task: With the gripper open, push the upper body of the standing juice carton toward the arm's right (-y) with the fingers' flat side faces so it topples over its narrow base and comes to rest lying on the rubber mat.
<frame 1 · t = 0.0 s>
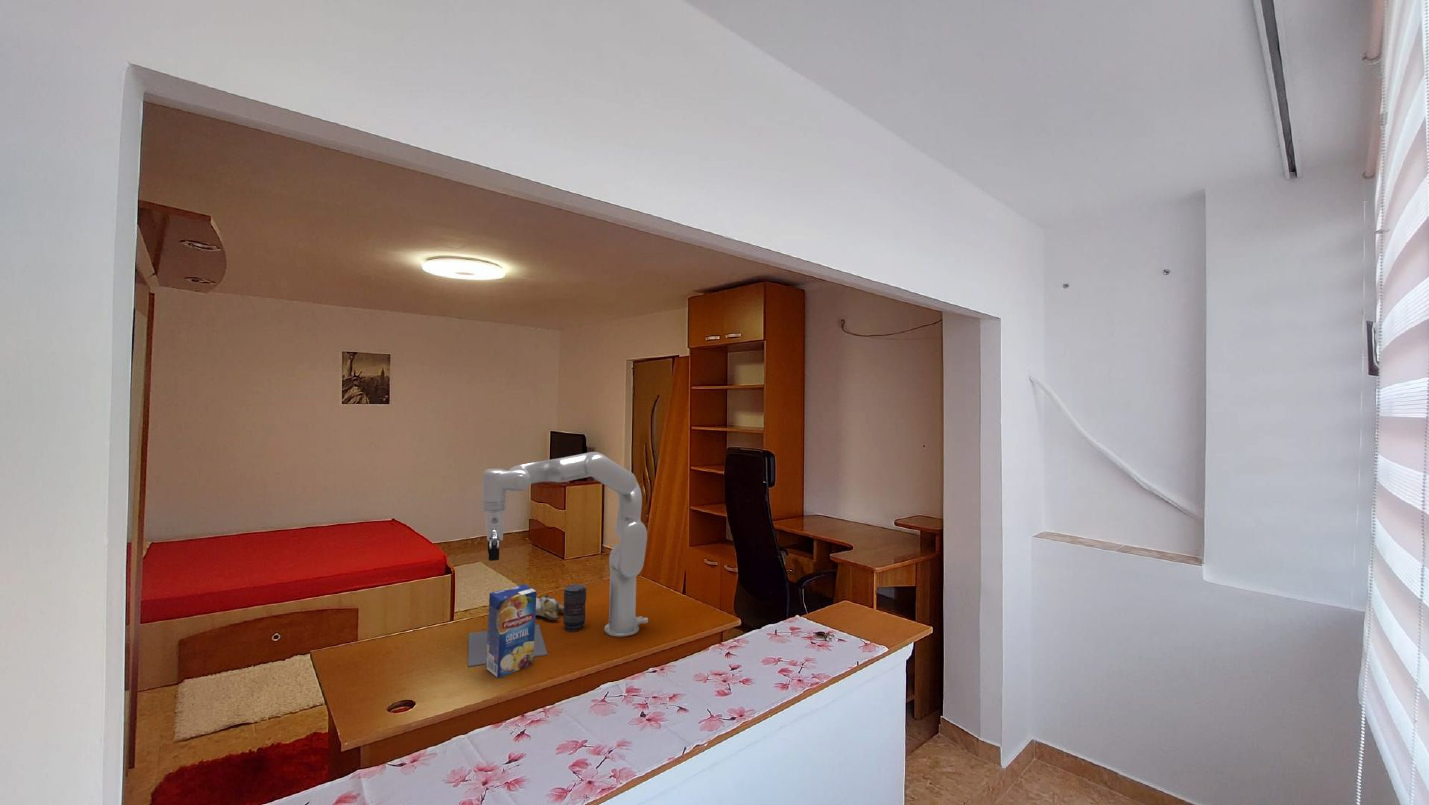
hand: (493, 556, 190), 31 cm above the table, fingers open, 9 cm apart
mat: (506, 644, 194), on the table
camera lens: (574, 628, 209), on the table
ceramic sculpture: (547, 617, 219), on the table
juice carton: (509, 667, 178), on the table, touching mat
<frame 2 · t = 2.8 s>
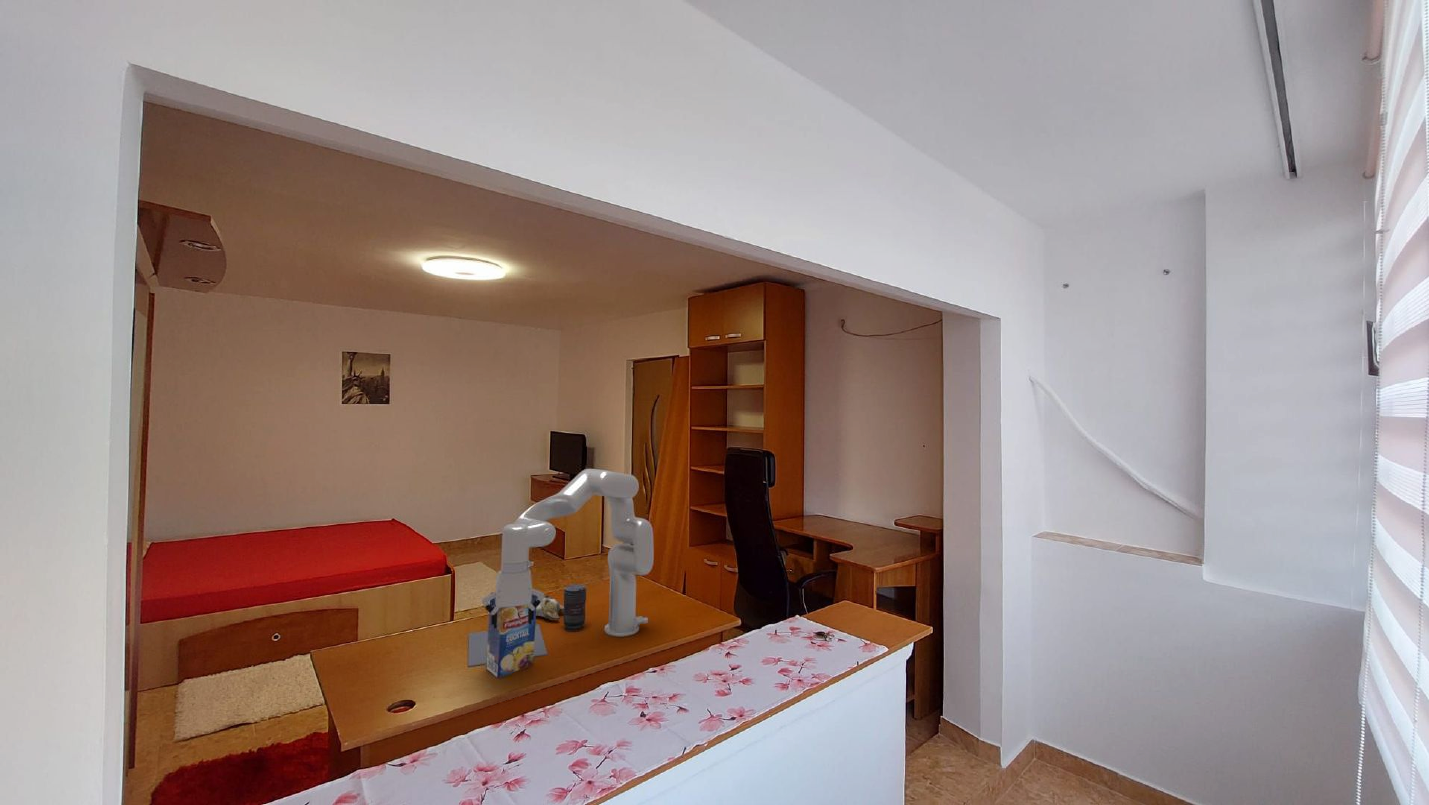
hand: (512, 624, 166), 18 cm above the table, fingers open, 9 cm apart
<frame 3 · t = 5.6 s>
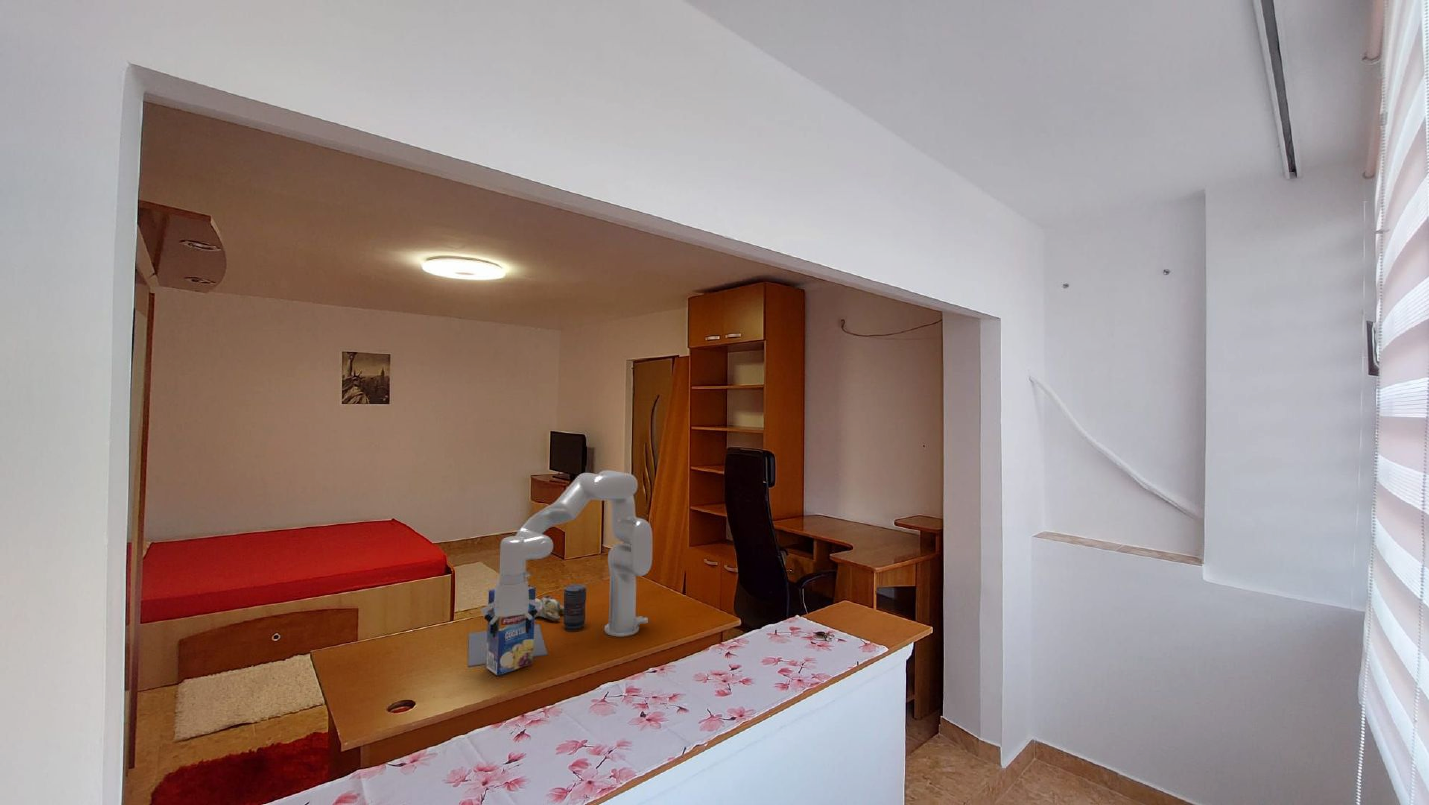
hand: (510, 633, 173), 13 cm above the table, fingers open, 9 cm apart
juice carton: (509, 666, 178), on the table, touching gripper, mat
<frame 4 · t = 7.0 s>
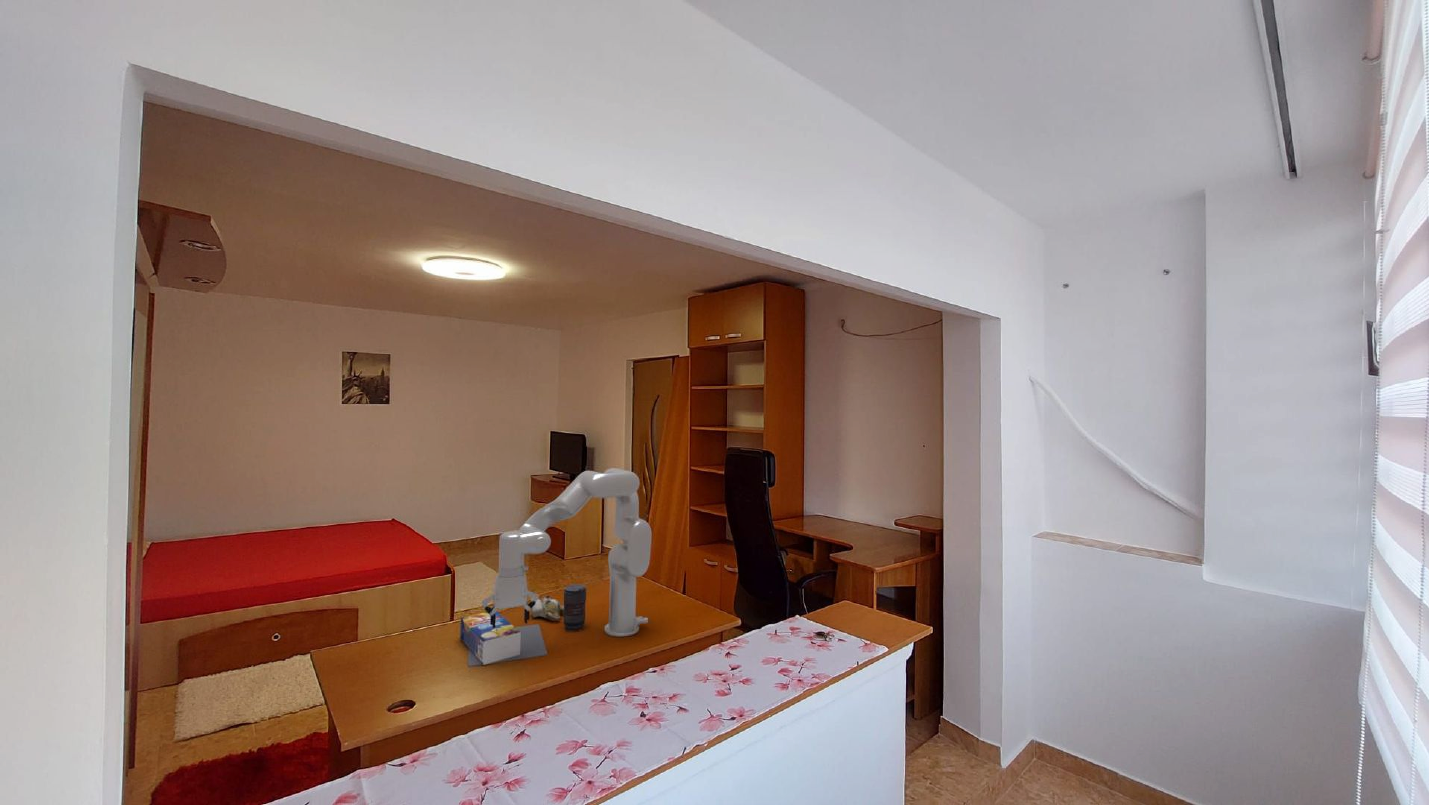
hand: (509, 624, 181), 12 cm above the table, fingers open, 9 cm apart
juice carton: (502, 648, 182), point 4 cm above the table, touching mat
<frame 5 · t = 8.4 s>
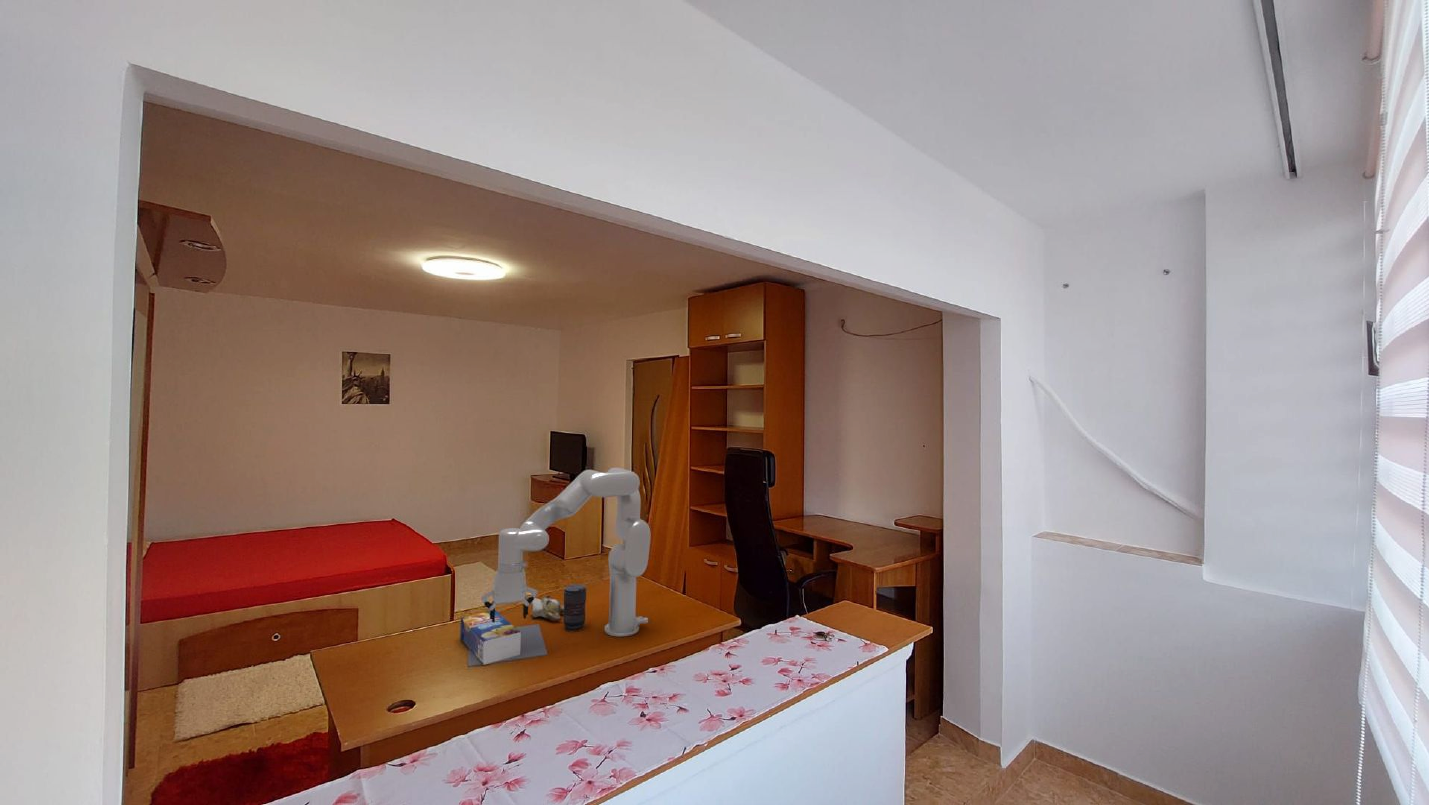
hand: (509, 619, 185), 12 cm above the table, fingers open, 9 cm apart
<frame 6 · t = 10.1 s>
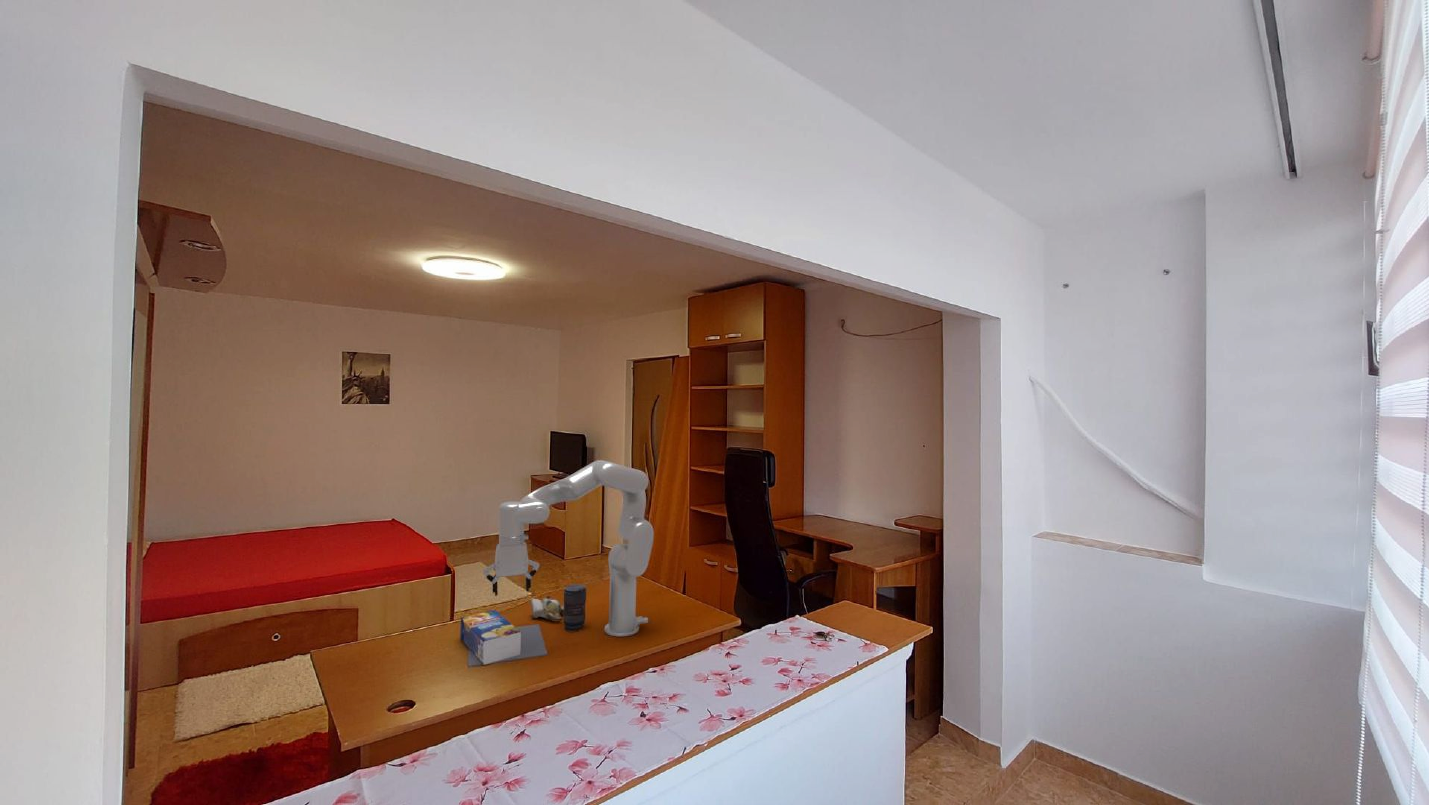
hand: (511, 592, 184), 21 cm above the table, fingers open, 9 cm apart
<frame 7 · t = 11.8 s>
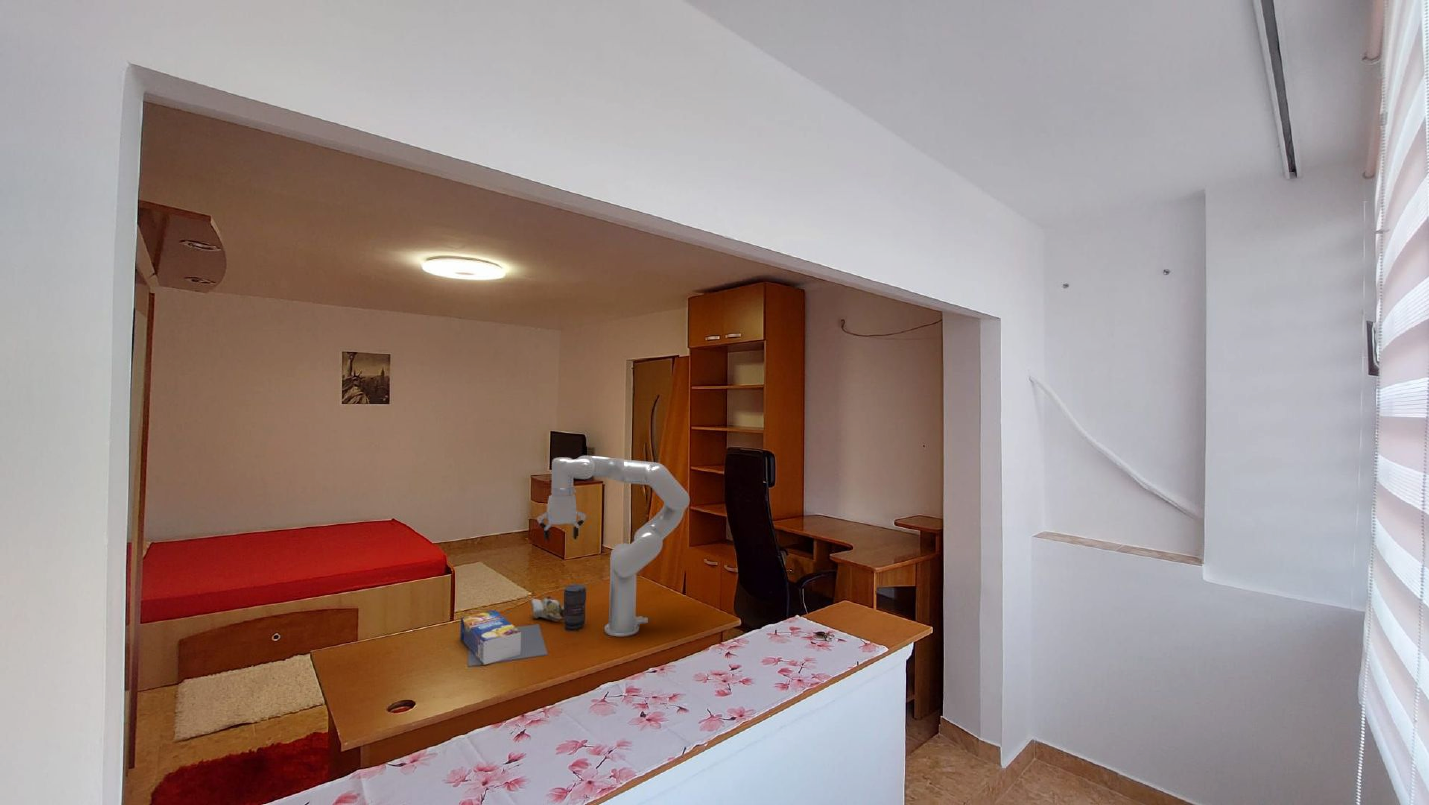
hand: (561, 539, 203), 34 cm above the table, fingers open, 9 cm apart
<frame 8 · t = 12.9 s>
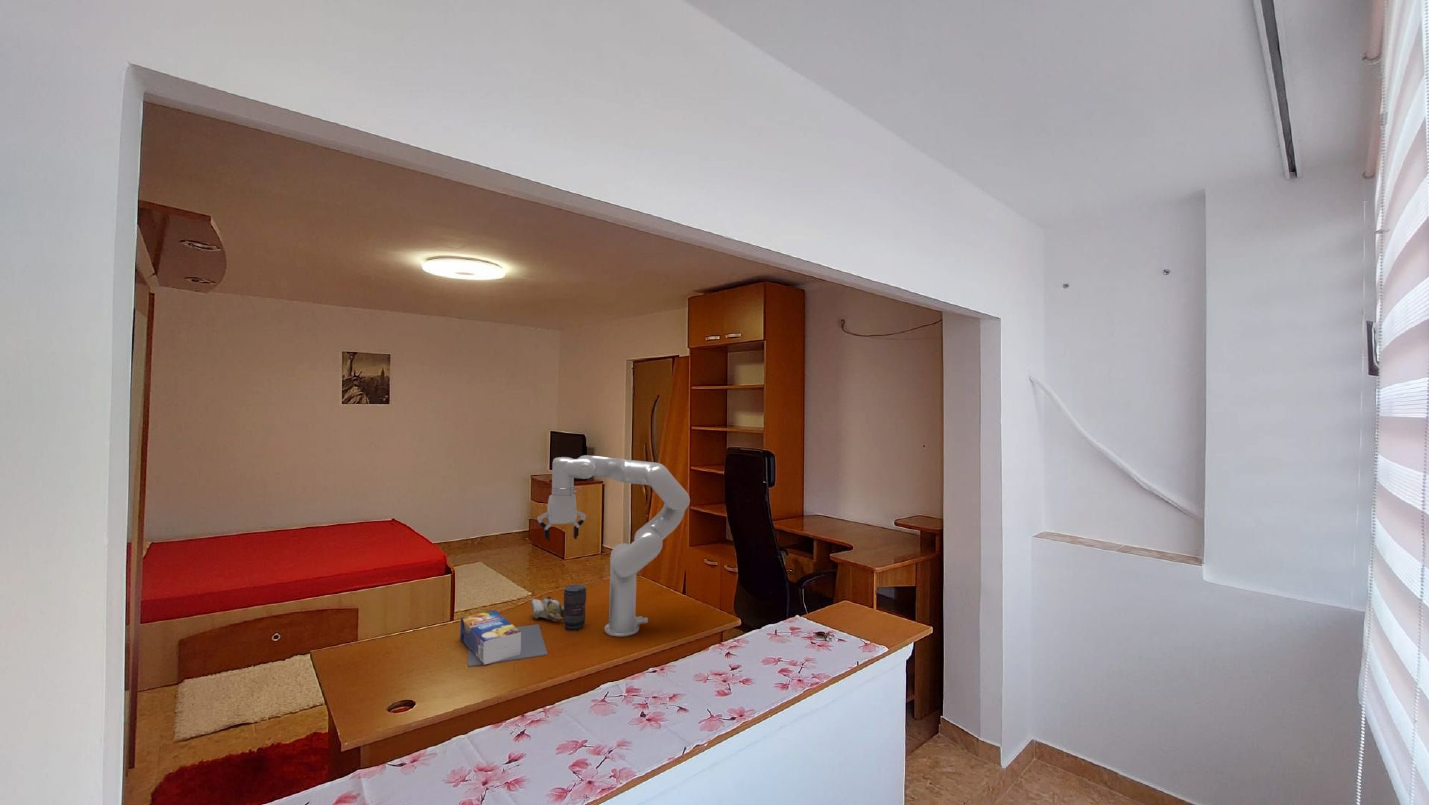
hand: (561, 539, 203), 34 cm above the table, fingers open, 9 cm apart
at the end: juice carton tilted 90°; juice carton inside the target area (11.4 cm from its centre), point 4.1 cm above the table; the gripper is holding nothing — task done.
